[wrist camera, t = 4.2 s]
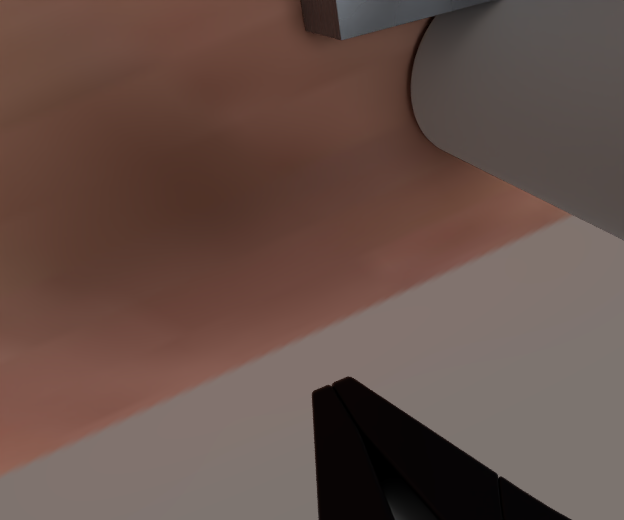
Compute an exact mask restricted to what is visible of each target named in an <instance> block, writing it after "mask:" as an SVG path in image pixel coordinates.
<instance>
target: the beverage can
mask: <svg viewBox="0 0 624 520" xmlns="http://www.w3.org/2000/svg"><path fill="white" fill-rule="evenodd" d="M411 101H412V106H413V111H414V115H415V118H416V120H417V123H418V125H419V127H420V128H421V130H422V132H423V133H424V135H425V136H426V137H427V138H428V139H429V140H430V141H431V142H432V143H433V144H434V145H435V146H437V147H438V148H440V149H441V150H443V151H445V152H447V153H449V154H451V155H453V156H455V157H457V158H459V159H461V160H463V161H465V162H467V163H469V164H471V165H473V166H475V167H477V168H479V169H481V170H483V171H485V172H487V173H489V174H491V175H493V176H495V177H497V178H499V179H501V180H503V181H506V182H508V183H510V184H512V185H514V186H516V187H518V188H520V189H522V190H524V191H526V192H528V193H530V194H532V195H534V196H536V197H538V198H540V199H542V200H544V201H546V202H548V203H550V204H552V205H554V206H556V207H558V208H560V209H562V210H564V211H566V212H568V213H570V214H572V215H574V216H576V217H578V218H580V219H582V220H584V221H586V222H588V223H590V224H592V225H594V226H596V227H598V228H600V229H602V230H604V231H606V232H608V233H610V234H612V235H614V236H616V237H618V238H620V239H622V240H624V0H492V1H489V2H485V3H481V4H477V5H473V6H470V7H466V8H462V9H458V10H454V11H451V12H447V13H443V14H439V15H436V16H435V18H434V19H433V21H432V22H431V24H430V25H429V27H428V29H427V30H426V32H425V34H424V36H423V38H422V40H421V43H420V45H419V48H418V51H417V53H416V57H415V60H414V65H413V70H412V77H411Z"/></svg>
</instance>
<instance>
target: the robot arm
mask: <svg viewBox="0 0 624 520" xmlns="http://www.w3.org/2000/svg"><path fill="white" fill-rule="evenodd" d="M312 407H313V424H314V425H313V426H314V444H315V463H316V481H317V498H318V516H319V517H318V518H319V520H571V519H569V518H568V517H566V516H564V515H562V514H560V513H559V512H557V511H555V510H553V509H552V508H550V507H548V506H547V505H545V504H544V503H542V502H540V501H539V500H537V499H536V498H534V497H532V496H531V495H529V494H528V493H526V492H524V491H523V490H521V489H519V488H518V487H517V486H515V485H514V484H512V483H511V482H509V481H508V480H506V479H505V478H503V477H499V478H498V475H497V473H495V472H494V471H492V470H491V469H489V468H488V467H486V466H485V465H483V464H482V463H480V462H479V461H477V460H476V459H474V458H473V457H471V456H470V455H468V454H467V453H465V452H464V451H462V450H460V449H459V448H458V447H456V446H454V445H453V444H452V443H450V442H449V441H447V440H446V439H444V438H443V437H441V436H439V435H438V434H437V433H435V432H434V431H432V430H431V429H429V428H428V427H426V426H425V425H423V424H422V423H420V422H419V421H417V420H416V419H414V418H413V417H411V416H410V415H408V414H407V413H405V412H404V411H402V410H400V409H399V408H397V407H396V406H394V405H393V404H391V403H390V402H388V401H387V400H386V399H384V398H382V397H381V396H379V395H378V394H376V393H375V392H373V391H372V390H370V389H369V388H367V387H366V386H364V385H363V384H361V383H360V382H358V381H357V380H355V379H354V378H352V377H346V378H343V379H341V380H338V381H336V382H334V383H333V384H332V386H330V385H326V386H324V387H322V388H320V389H317V390H314V391H313V392H312Z"/></svg>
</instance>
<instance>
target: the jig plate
mask: <svg viewBox="0 0 624 520" xmlns="http://www.w3.org/2000/svg"><path fill="white" fill-rule="evenodd" d="M489 1H492V0H301V5H302V11H303V17H304V23H305V29H306V31H308V32H312V33H316V34H319V35H323V36H327V37H331V38H335V39H338V40H344V39H348V38H352V37H356V36H359V35H363V34H367V33H371V32H375V31H378V30H382V29H386V28H390V27H394V26H397V25H401V24H405V23H409V22H413V21H416V20H420V19H424V18H428V17H432V16H435V15H439V14H443V13H447V12H451V11H454V10H458V9H462V8H466V7H470V6H473V5H477V4H481V3H485V2H489Z"/></svg>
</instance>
